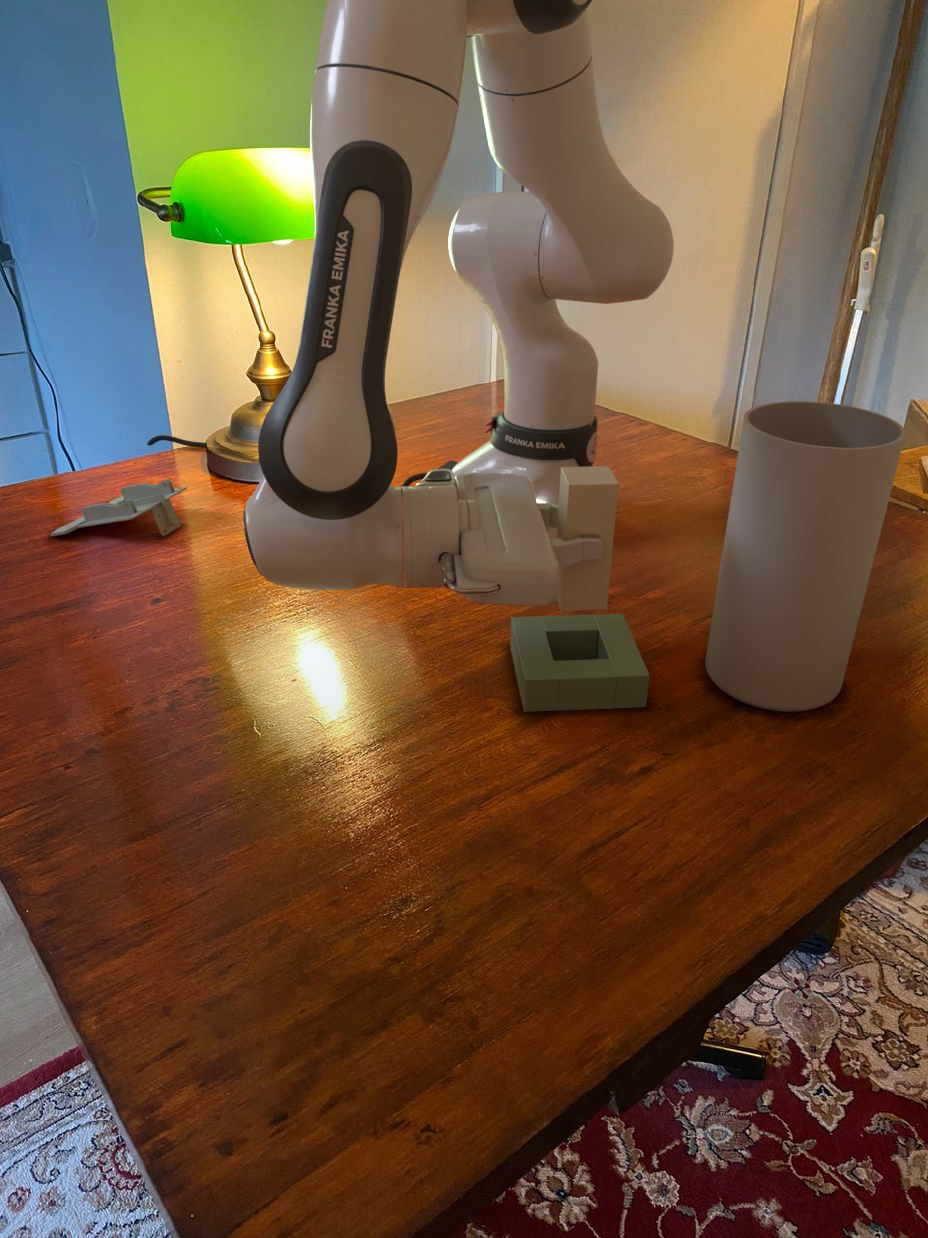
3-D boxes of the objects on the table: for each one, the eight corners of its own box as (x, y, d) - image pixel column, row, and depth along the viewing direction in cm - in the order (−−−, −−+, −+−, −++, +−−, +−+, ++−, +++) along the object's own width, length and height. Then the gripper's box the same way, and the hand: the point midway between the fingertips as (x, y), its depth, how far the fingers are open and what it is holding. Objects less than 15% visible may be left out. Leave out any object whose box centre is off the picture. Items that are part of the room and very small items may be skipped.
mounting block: (523, 712, 82) (525, 680, 80) (510, 647, 92) (511, 616, 90) (646, 707, 83) (650, 675, 81) (619, 643, 92) (622, 613, 91)
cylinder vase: (822, 732, 79) (889, 460, 67) (685, 689, 85) (724, 431, 73) (853, 666, 89) (917, 416, 76) (727, 631, 94) (768, 393, 82)
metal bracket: (197, 467, 119) (119, 509, 107) (213, 508, 121) (139, 554, 109) (118, 481, 125) (37, 522, 113) (135, 520, 128) (57, 565, 116)
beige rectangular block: (560, 611, 81) (568, 484, 75) (553, 589, 84) (560, 466, 79) (607, 610, 81) (618, 483, 75) (597, 588, 85) (608, 465, 79)
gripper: (442, 556, 68) (624, 551, 69) (432, 461, 86) (577, 458, 87) (443, 628, 71) (616, 623, 72) (433, 523, 89) (573, 519, 90)
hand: (594, 532), depth 80 cm, fingers closed on beige rectangular block, 4 cm apart
